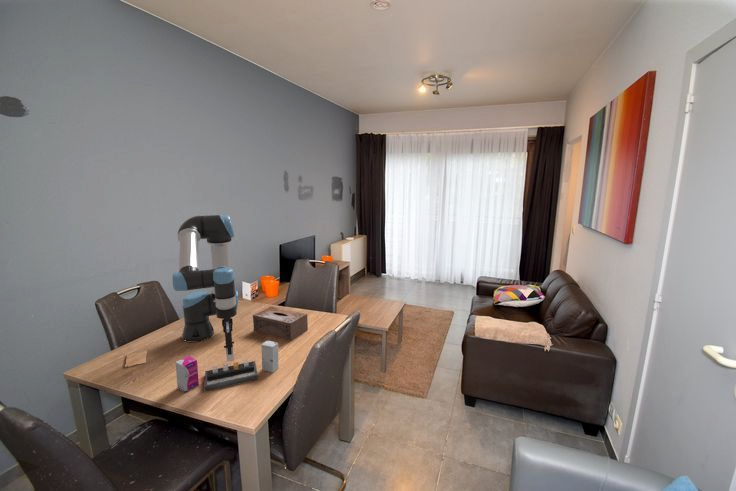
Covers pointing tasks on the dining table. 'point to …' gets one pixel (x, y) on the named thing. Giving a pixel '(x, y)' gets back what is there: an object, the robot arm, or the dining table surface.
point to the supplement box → (187, 373)
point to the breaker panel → (230, 375)
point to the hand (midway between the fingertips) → (230, 360)
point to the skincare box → (270, 356)
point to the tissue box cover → (280, 323)
